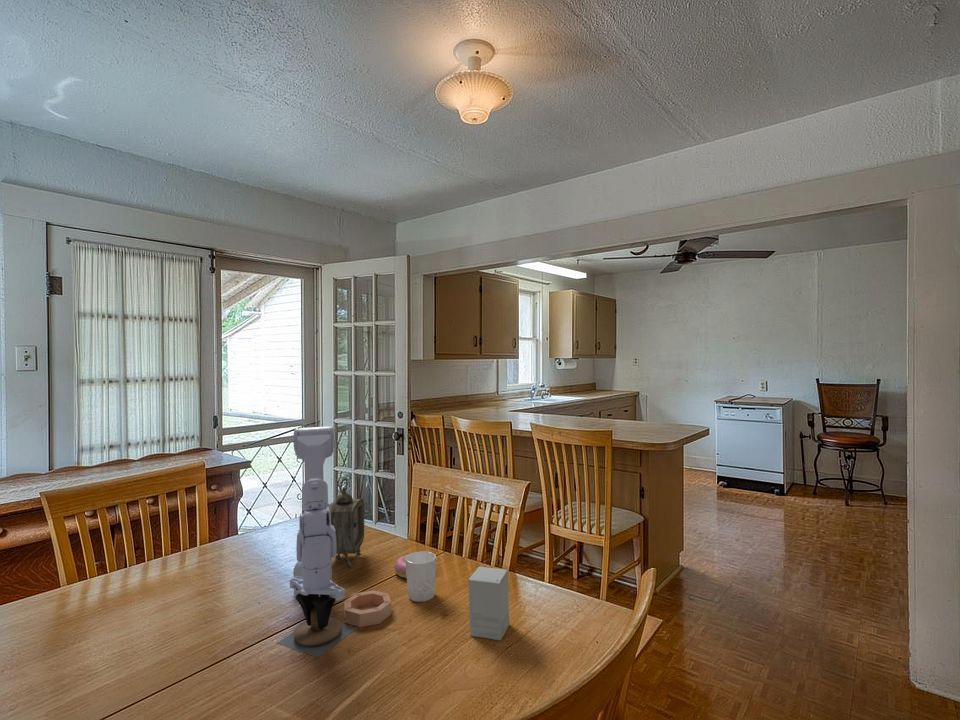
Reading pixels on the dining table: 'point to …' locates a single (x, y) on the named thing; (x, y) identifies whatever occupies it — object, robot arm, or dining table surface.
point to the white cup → (421, 575)
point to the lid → (316, 631)
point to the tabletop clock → (347, 523)
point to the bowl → (367, 608)
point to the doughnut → (401, 566)
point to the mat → (316, 649)
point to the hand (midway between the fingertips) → (317, 625)
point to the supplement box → (489, 603)
